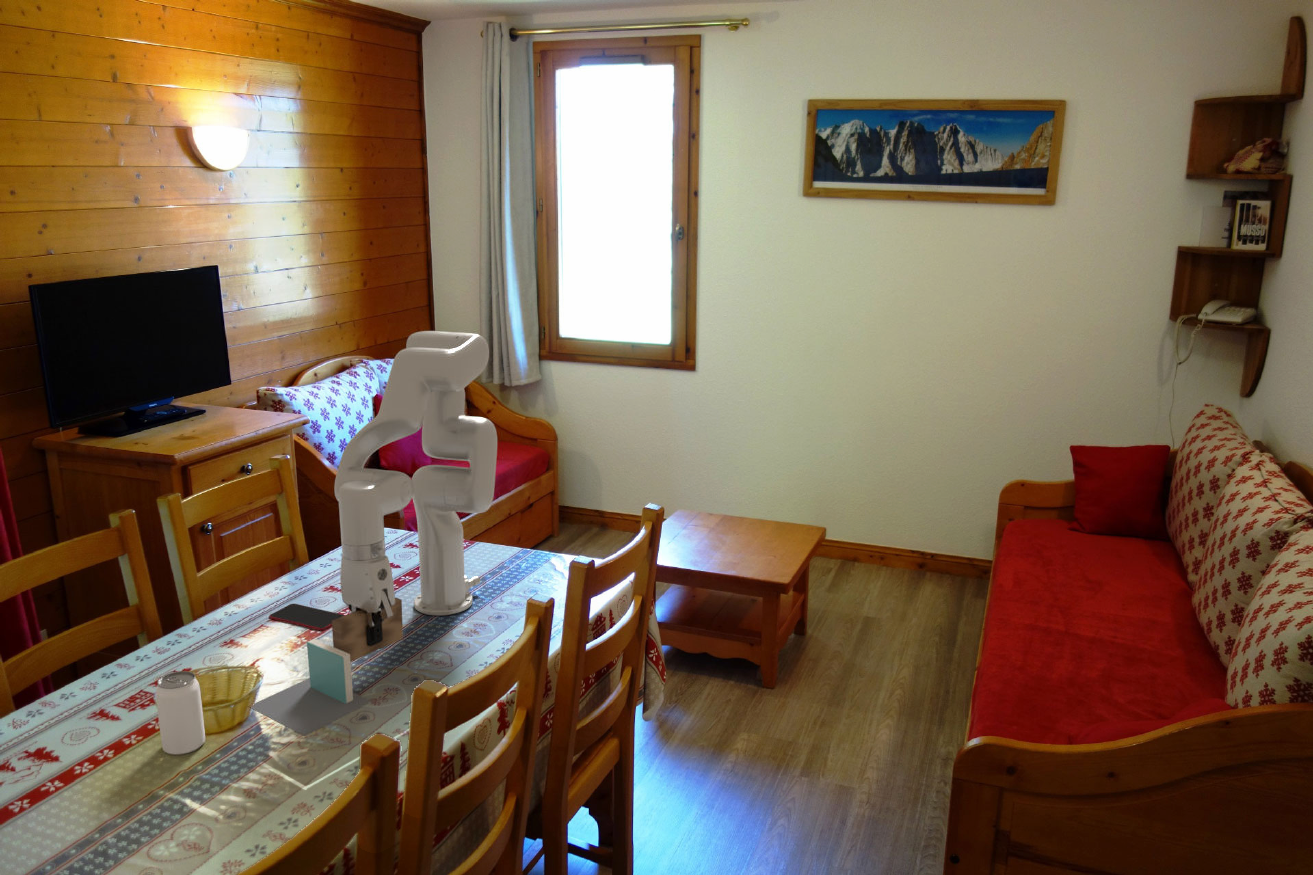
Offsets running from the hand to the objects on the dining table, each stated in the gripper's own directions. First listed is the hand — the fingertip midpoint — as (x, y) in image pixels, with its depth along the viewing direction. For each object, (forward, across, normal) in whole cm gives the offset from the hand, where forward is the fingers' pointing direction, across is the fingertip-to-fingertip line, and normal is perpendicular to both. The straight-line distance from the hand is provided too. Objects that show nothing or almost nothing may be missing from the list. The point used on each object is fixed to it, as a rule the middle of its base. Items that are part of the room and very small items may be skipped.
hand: (369, 640), depth 184 cm
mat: (+7, 0, +13) cm, 15 cm away
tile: (+7, 0, +9) cm, 11 cm away
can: (+8, +6, +33) cm, 35 cm away
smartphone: (+8, +31, -9) cm, 33 cm away
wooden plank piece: (+2, 0, 0) cm, 2 cm away
